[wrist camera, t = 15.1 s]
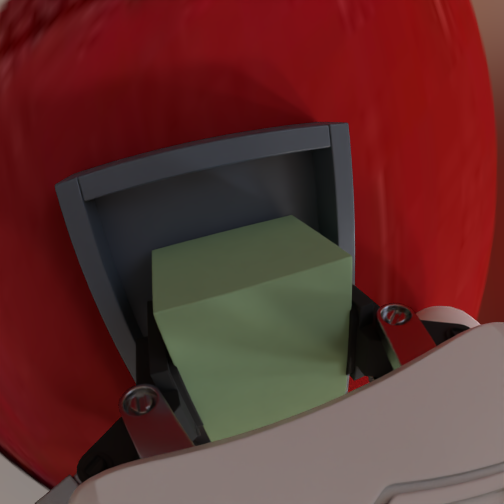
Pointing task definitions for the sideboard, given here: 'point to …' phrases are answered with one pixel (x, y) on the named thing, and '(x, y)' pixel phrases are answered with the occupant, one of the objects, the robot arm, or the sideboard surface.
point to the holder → (200, 208)
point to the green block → (255, 321)
